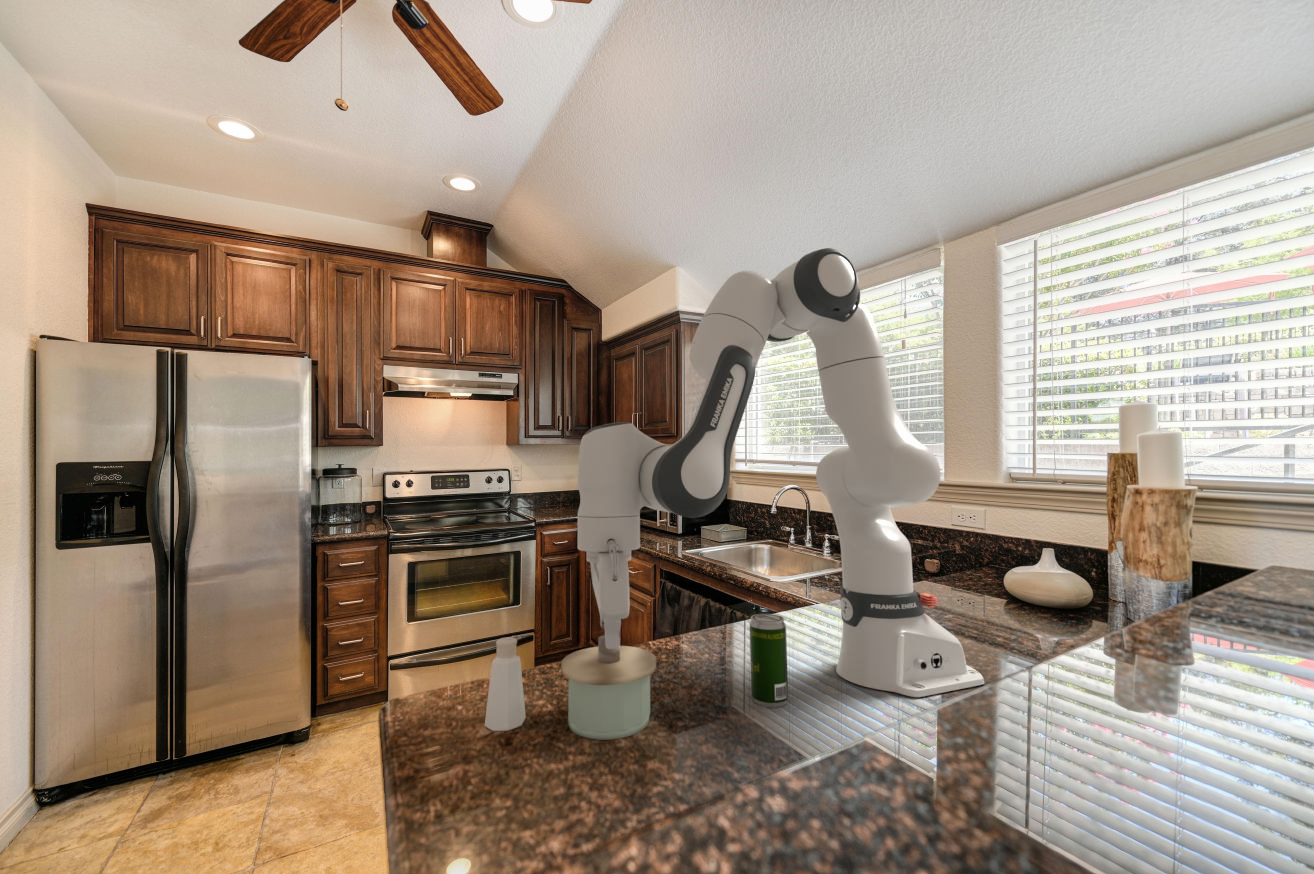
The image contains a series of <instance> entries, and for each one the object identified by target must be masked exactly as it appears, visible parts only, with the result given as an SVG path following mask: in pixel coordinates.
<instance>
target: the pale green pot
mask: <svg viewBox="0 0 1314 874" xmlns="http://www.w3.org/2000/svg"><path fill="white" fill-rule="evenodd" d="M567 703H568V709H567V710H568V716H567V717H568V719H567V721H568V724H567V725H568V728H569V729H570V730H571V731H572V732H573V733H574V734H576V735H577V736H580V737H583V738H585V739H586V738H587V739H591V740H601V741H603V740H605V741H608V740H617V739H619V740H620V739H622V738H623V739H624V738H627V737H631V736H633V735H635V734H638V733H640V732H641V731H643V730H644V729H646V727H647V726H648V725H649V723H650V715H651V675H649V676H647V677H645V678H643V679H640V680H638V681H634V682H630V683H624V684H616V685H590V684H583V683H578V682H575V681H572V680H570V679H568V702H567Z"/></svg>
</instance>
